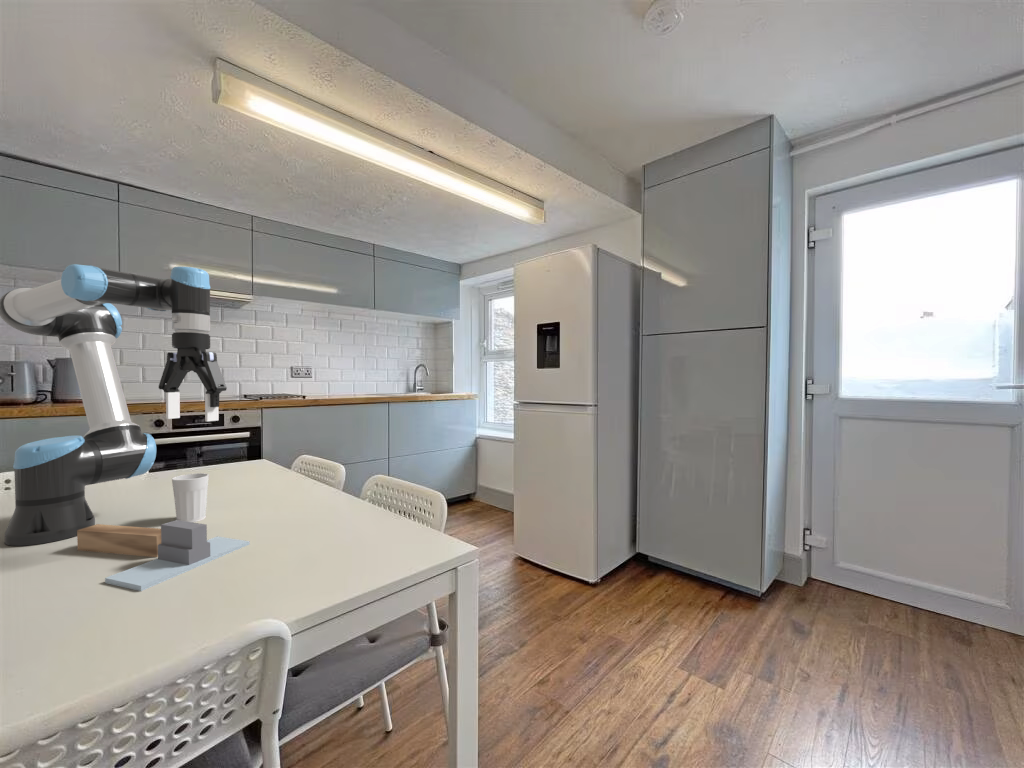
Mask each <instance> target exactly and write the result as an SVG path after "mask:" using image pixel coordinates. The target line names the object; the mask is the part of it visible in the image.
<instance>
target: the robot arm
mask: <svg viewBox="0 0 1024 768" xmlns="http://www.w3.org/2000/svg"><path fill="white" fill-rule="evenodd" d="M61 273H62V274H61V278H60V279H57V280H55V281H51V282H48V283H46V284H42V285H40V286H39V285H38V286H37V287H33V288H32V287H19V288H15V289H13V290H10V291H8V292H5V293H4V294H3V295H2V296H1V297H0V318H1V319H2V321H4V322H5V323H6V324H7V325H9V326H10V327H11V328H14V329H15V330H17V331H20V332H23V333H26V334H29V335H32V336H33V335H35V336H41V337H42V336H44V337H55V338H58V341H59V344H60V346H61V347H62V348H64V349H65V350H68V351H69V354H70V357H71V360H72V365H73V369H74V372H75V376H76V381H77V385H78V389H79V392H80V393H79V394H80V396H81V401H82V405H83V409H84V411H85V415H86V419H87V425H88V428H89V430H88V431H86V433H85V434H84V435H83V436H82V435H66V436H60V437H56V436H55V437H50V438H46V439H45V438H44V439H39V440H35V441H31V442H29V443H24V444H22V445H21V446H19V447H18V448H16V450H15V452H14V460H13V461H14V462H13V465H12V467H13V471H14V495H15V496H14V500H15V508H14V511H13V513H12V516H11V518H10V520H9V523H8V525H7V527H6V530H5V532H4V544H5V545H6V546H13V547H18V546H19V547H21V546H22V547H23V546H34V545H40V544H42V545H43V544H47V543H53V542H57V541H61V540H66V539H70V538H74V537H77V530H80V529H83V528H86V527H90V526H93V525H96V519H95V518H96V517H95V515H94V513H93V512H92V510H91V508H90V505H89V504H88V501H87V500H86V495H85V494H86V493H85V491H86V490H85V489H86V486H90V485H95V484H96V485H97V484H101V483H102V484H103V483H106V482H107V483H109V482H112V481H113V482H114V481H117V480H122V479H123V480H124V479H126V480H127V479H131V478H134V477H138V476H141V475H144V474H147V473H148V472H149V471H150V470H151V468H152V467H153V465H154V463H155V460H156V457H157V444H156V443H157V442H156V440H155V438H154V437H153V436H152V434H151V433H147V432H144V433H143V432H142V429H141V426H140V425H139V424H137V423H135V422H134V421H133V422H132V419H131V416H130V412H129V409H128V405H127V404H128V403H127V401H126V397H125V393H124V390H123V386H122V382H121V379H120V375H119V371H118V368H117V364H116V361H115V359H116V358H115V357H114V353H113V352H114V351H113V349H112V346H113V345H114V344H115V343H116V342H117V340H118V338H119V337H120V336H121V334H122V331H123V328H122V326H123V319H122V316H121V314H120V312H119V310H118V308H117V307H116V306H114V304H115V305H123V306H128V307H129V306H130V307H136V308H146V309H147V310H151V311H159V312H167V311H171V330H173V331H174V332H172V333H171V346H172V348H173V349H177V352H172V351H171V352H167V354H166V362H165V365H164V369H163V372H162V374H161V378H160V381H159V383H158V389H159V390H163V392H164V393H165V411H166V412H165V415H166V416H165V417H166V418H165V419H166V420H172V419H180V418H181V413H180V412H181V403H180V401H181V400H180V399H181V398H180V397H181V395H180V394H181V392H180V389H179V388H180V387H181V384H182V383H183V382H184V380H185V377H186V376H187V374H188V373H190V372H192V371H193V373H196V375H197V377H198V378H199V380H200V382H201V383H202V385H203V386H204V388H205V390H206V391H205V393H204V416H205V417H204V419H205V420H204V422H216V421H217V422H218V421H219V418H220V417H219V416H220V415H219V414H220V413H219V409H220V408H219V407H220V394H221V393H223V392H225V391H227V390H228V389H227V388H228V387H227V385H226V382H225V379H224V377H223V374H222V372H221V369H220V368H221V367H220V365H219V362H218V359H217V358H218V357H217V353H216V352H214V351H213V352H212V351H211V352H210V351H209V352H208V351H206V350H209V349H211V335H210V334H208V333H209V332H211V316H210V315H211V288H212V287H211V285H210V274H209V273H208V271H206V270H205V269H202V268H197V267H191V266H180V265H179V266H174V267H172V268H171V272H170V276H169V277H170V278H164V279H163V278H158V277H151V276H147V275H140V274H135V273H131V272H130V273H129V272H124V271H118V270H113V269H107V268H103V267H98V266H95V265H90V264H89V265H83V264H77V263H74V264H68V265H66V267H65V269H64V270H63V271H62V272H61Z"/></svg>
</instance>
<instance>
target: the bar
mask: <svg viewBox="0 0 1024 768" xmlns="http://www.w3.org/2000/svg"><path fill="white" fill-rule="evenodd" d="M76 537H77V543H76V544H77V551H79V552H80V551H81V552H92V553H104V554H116V555H117V554H118V555H127V556H128V555H130V556H139V557H150V558H151V557H152V558H158V545H159V544H161V528H158V527H157V528H155V527H141V526H130V525H114V524H103V523H102V524H99V523H97V524H96V523H95V525H93V526H90V527H86V528H83V529H80V530H77V536H76Z"/></svg>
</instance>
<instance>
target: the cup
mask: <svg viewBox="0 0 1024 768" xmlns="http://www.w3.org/2000/svg"><path fill="white" fill-rule="evenodd" d="M209 476H210V474H209V473H205V472H203V473H202V472H197V473H196V472H195V473H186V474H181V475H177V476H174V477H172V478H171V484H172V489H173V490H172V491H173V500H174V509H175V517H176V519H175V520H179V521H186V522H193V523H198V522H199V521H203V520H204V519H206V517H207V514H206V513H207V504H208V503H207V501H208V491H209V490H208V488H209V478H210V477H209Z"/></svg>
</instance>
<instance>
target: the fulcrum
mask: <svg viewBox="0 0 1024 768" xmlns="http://www.w3.org/2000/svg"><path fill="white" fill-rule="evenodd" d="M207 526H208V525H207V524H205V523H199V522H186V521H179V520H176V519H175V520H171V521H169V522H166V523H162V524H160V529H161V544H159V545H158V557H157V558H155V559H152V560H150V561H147V562H144V563H142V564H139V565H136V566H133V567H132V568H128V569H125V570H123V571H119V572H117V573H114V574H111V575H108V576H107V577H104V583H105V584H108V585H113V586H116V587H117V586H118V587H122V588H126V589H130V590H134V591H139V592H142V591H145V590H148V589H149V588H151V587H154V586H157V585H159V584H160V583H164V582H166V581H168V580H170V579H173V578H175V577H178V576H179V575H183V574H184V573H186V572H189V571H191V570H194V569H196V568H198V567H201V566H204V565H205V564H208V563H210V562H212V560H213V561H216V560H217V559H219V557H220V558H222V557H223V556H226V554H227V555H229V554H231V553H233V551H234V552H236V551H238V550H241V549H242V547H243V548H245V547H247V546H250V545H251V544H250V541H248V540H243V539H238V538H237V539H236V538H230V537H223V536H219V535H217V536H215V537H212V538H210V539H208V536H207V535H208V529H207V528H208V527H207ZM235 550H236V551H235Z"/></svg>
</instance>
